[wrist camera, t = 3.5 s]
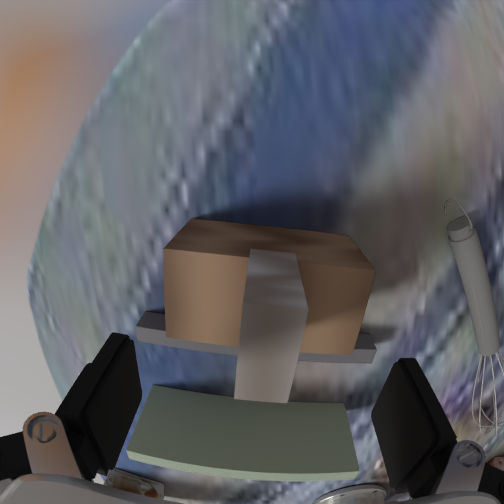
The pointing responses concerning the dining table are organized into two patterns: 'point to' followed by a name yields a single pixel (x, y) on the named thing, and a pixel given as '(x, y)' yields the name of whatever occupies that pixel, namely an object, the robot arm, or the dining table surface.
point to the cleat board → (244, 425)
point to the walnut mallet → (265, 297)
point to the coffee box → (134, 484)
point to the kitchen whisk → (476, 294)
